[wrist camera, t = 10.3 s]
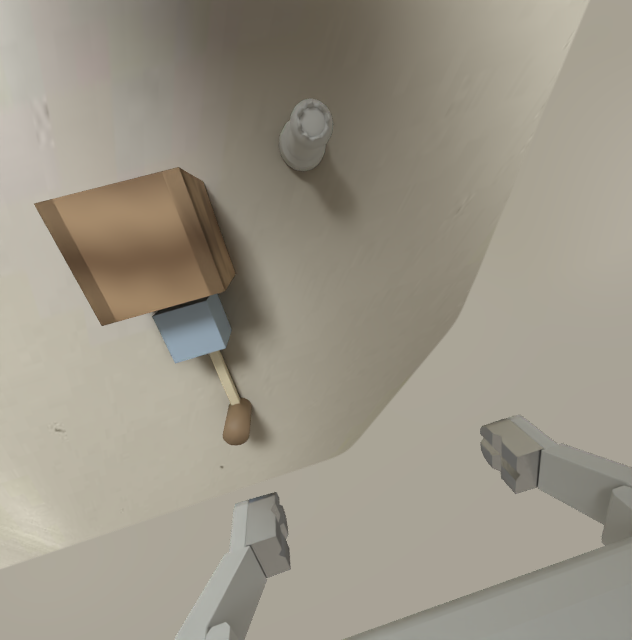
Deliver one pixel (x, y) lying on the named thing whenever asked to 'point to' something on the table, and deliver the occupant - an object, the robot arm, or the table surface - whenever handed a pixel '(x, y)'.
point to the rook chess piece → (306, 135)
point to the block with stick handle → (206, 352)
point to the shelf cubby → (141, 243)
